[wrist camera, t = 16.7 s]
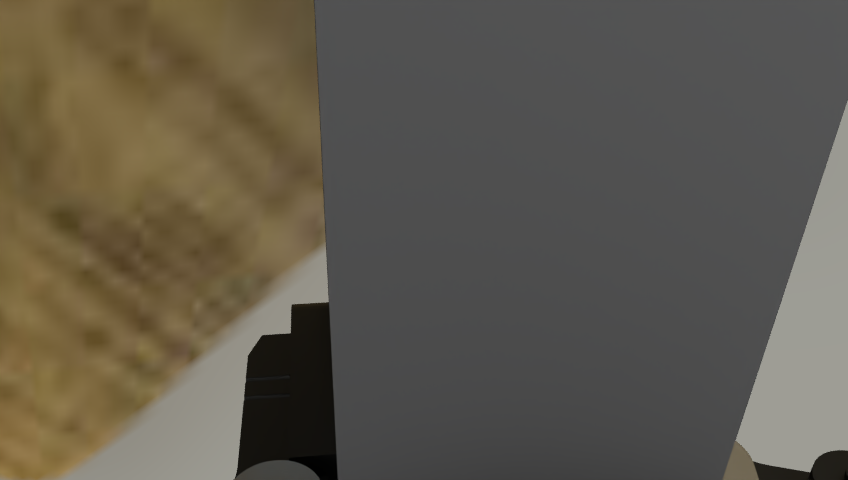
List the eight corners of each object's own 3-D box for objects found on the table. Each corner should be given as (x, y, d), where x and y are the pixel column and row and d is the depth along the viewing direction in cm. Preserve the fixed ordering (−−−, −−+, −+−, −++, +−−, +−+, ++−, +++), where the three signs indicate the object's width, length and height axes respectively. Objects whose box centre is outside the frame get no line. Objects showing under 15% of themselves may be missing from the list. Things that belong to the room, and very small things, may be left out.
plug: (337, 471, 16) (353, 804, 11) (299, -303, 9) (296, -402, 4) (526, 455, 16) (628, 765, 11) (624, -288, 9) (998, -361, 4)
